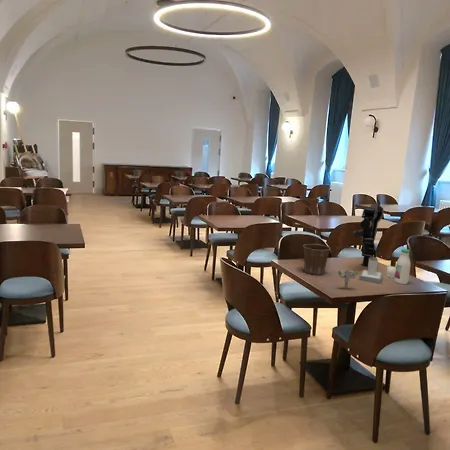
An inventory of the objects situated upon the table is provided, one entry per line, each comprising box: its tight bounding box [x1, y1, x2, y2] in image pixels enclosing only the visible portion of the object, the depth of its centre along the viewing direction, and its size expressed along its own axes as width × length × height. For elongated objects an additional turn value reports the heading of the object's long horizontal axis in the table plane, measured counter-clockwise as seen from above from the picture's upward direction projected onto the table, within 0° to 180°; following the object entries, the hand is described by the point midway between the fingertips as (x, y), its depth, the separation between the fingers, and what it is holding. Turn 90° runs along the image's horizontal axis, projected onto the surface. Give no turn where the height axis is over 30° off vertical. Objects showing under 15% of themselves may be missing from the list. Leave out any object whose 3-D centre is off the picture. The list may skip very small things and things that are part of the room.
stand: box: [358, 269, 384, 285], centre depth 264 cm, size 16×12×3 cm
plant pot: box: [302, 243, 331, 276], centre depth 268 cm, size 16×16×16 cm
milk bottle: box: [393, 248, 411, 285], centre depth 259 cm, size 8×8×20 cm
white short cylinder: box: [385, 265, 396, 279], centre depth 271 cm, size 6×6×6 cm
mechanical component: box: [337, 270, 358, 290], centre depth 240 cm, size 3×10×10 cm, turn 95°
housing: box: [367, 256, 379, 276], centre depth 263 cm, size 6×4×10 cm
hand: (364, 251), depth 277 cm, fingers open, 9 cm apart
